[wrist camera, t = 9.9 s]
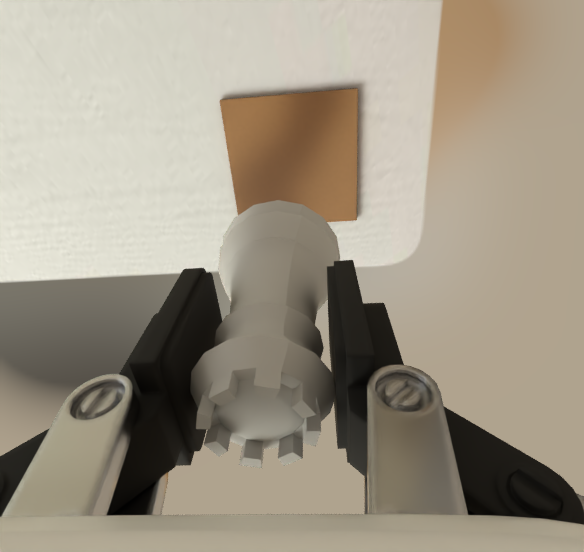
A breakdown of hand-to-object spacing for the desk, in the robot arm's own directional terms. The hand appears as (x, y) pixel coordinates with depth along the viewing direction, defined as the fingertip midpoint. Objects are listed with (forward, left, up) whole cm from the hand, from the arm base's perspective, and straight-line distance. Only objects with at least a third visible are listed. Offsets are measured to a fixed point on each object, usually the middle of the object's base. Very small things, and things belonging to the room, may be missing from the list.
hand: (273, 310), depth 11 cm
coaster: (0, 0, -18) cm, 18 cm away
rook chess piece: (0, 0, -4) cm, 4 cm away
